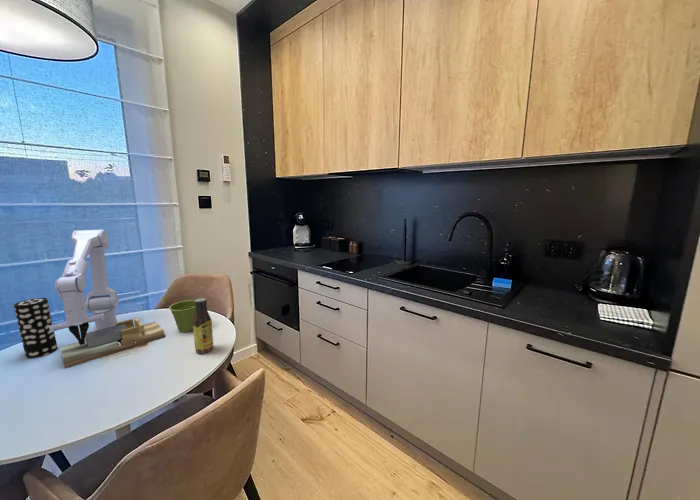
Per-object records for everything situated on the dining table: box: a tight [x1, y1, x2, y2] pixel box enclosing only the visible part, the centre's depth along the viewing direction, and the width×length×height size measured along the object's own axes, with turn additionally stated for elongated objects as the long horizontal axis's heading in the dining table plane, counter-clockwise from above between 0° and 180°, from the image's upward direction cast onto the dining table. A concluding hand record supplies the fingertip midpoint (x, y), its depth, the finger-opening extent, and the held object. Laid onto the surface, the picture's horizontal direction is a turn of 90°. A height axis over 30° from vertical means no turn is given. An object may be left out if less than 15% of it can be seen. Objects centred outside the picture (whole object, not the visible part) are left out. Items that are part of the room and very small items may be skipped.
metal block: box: [85, 324, 127, 348], centre depth 112 cm, size 8×12×3 cm, turn 137°
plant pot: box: [168, 299, 196, 333], centre depth 127 cm, size 12×12×11 cm
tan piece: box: [60, 317, 166, 369], centre depth 114 cm, size 14×30×7 cm, turn 137°
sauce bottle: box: [192, 297, 214, 354], centre depth 108 cm, size 6×6×20 cm
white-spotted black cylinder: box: [13, 297, 58, 359], centre depth 108 cm, size 8×8×20 cm
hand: (82, 343), depth 107 cm, fingers closed
